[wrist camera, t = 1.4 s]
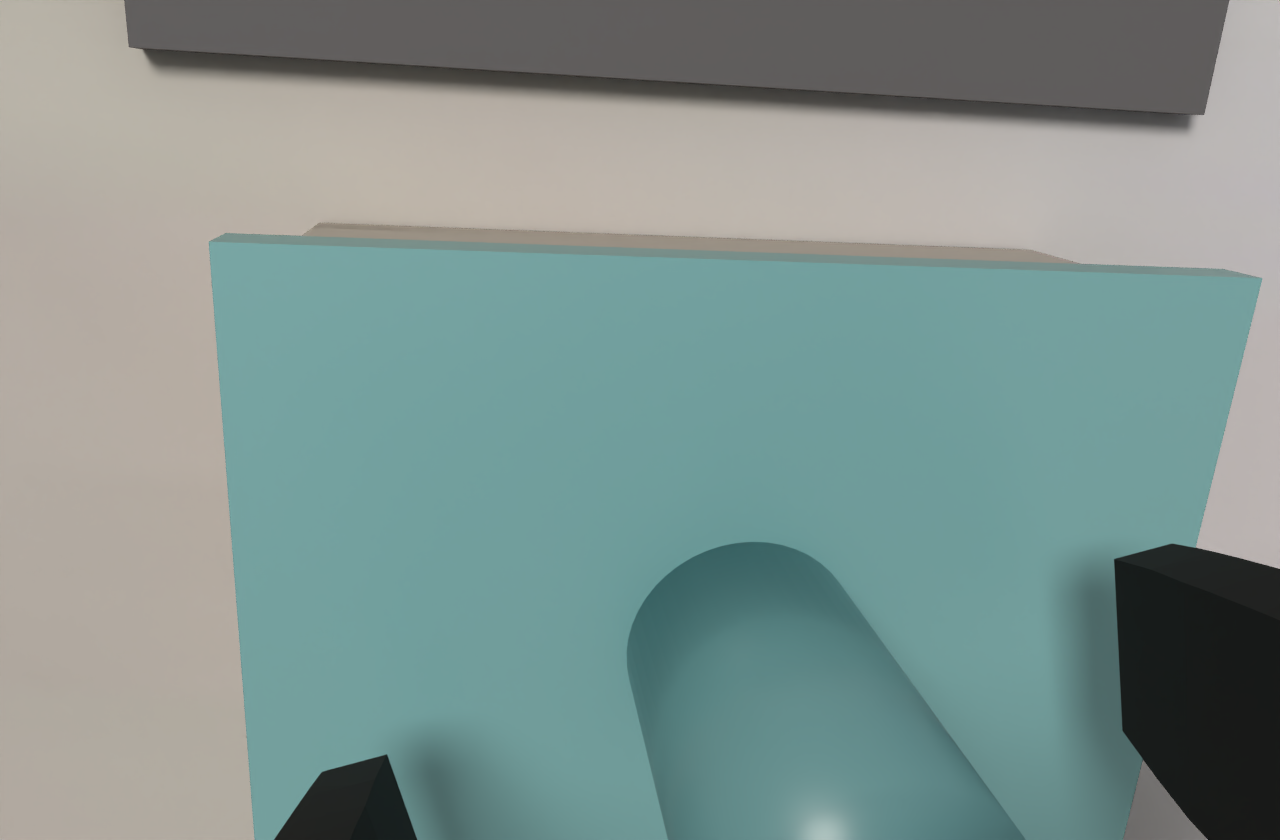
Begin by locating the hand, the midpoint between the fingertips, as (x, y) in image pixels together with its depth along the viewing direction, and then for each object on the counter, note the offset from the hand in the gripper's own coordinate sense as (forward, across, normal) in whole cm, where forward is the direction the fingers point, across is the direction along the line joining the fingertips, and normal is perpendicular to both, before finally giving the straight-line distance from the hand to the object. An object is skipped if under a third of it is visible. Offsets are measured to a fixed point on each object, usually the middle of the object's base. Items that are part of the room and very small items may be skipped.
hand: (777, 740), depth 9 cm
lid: (+2, 0, 0) cm, 2 cm away
